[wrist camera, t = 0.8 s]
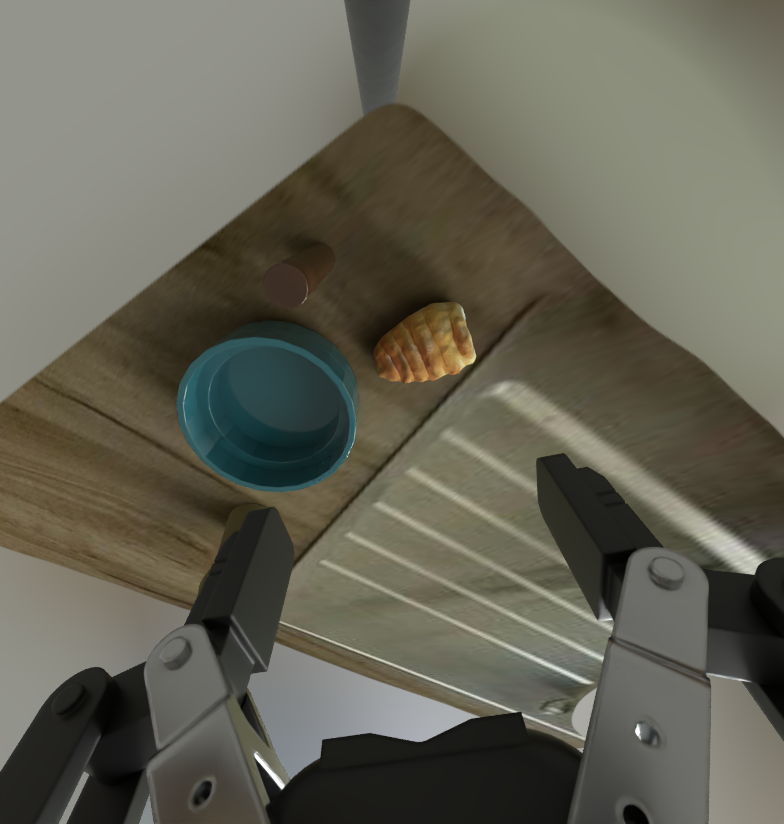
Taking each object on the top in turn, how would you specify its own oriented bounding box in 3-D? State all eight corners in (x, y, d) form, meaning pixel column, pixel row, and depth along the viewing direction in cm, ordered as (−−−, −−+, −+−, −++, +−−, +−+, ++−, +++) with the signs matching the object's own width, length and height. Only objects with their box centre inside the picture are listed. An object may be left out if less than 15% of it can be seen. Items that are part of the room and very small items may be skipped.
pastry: (388, 391, 39) (389, 407, 36) (360, 330, 36) (358, 342, 33) (477, 356, 37) (487, 370, 34) (455, 290, 35) (463, 298, 31)
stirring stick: (316, 236, 32) (277, 253, 20) (340, 255, 33) (316, 282, 21) (301, 261, 33) (254, 291, 21) (324, 278, 34) (293, 318, 21)
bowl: (252, 283, 34) (228, 297, 28) (389, 380, 38) (390, 407, 33) (179, 406, 39) (147, 437, 34) (307, 478, 44) (297, 515, 38)
